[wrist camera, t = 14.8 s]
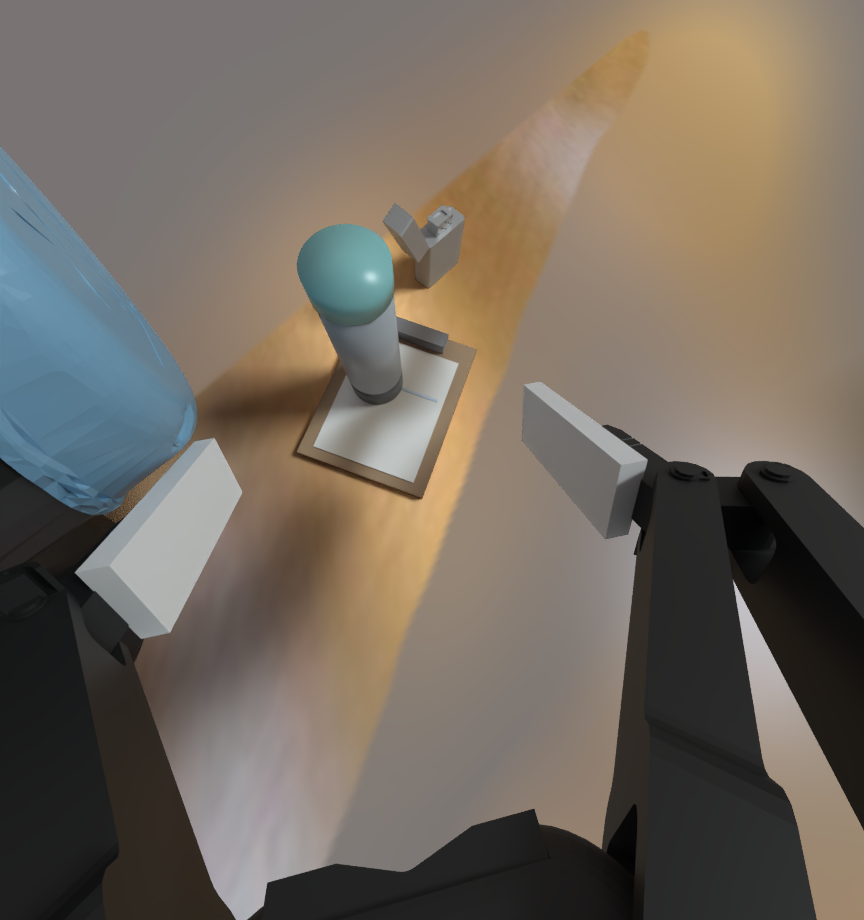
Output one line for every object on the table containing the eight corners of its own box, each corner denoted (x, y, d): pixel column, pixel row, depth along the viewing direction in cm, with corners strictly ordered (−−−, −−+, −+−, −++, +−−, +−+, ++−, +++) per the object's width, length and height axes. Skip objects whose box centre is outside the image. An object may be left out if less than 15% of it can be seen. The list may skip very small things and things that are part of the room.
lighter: (445, 250, 31) (454, 152, 23) (459, 261, 31) (473, 167, 23) (390, 298, 30) (380, 211, 22) (404, 310, 29) (400, 227, 22)
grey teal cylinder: (342, 395, 27) (281, 286, 15) (362, 349, 27) (320, 212, 16) (392, 413, 26) (371, 317, 15) (411, 366, 27) (405, 241, 16)
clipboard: (299, 453, 26) (291, 448, 25) (364, 314, 29) (361, 302, 27) (422, 498, 26) (422, 496, 24) (475, 353, 29) (479, 342, 27)
